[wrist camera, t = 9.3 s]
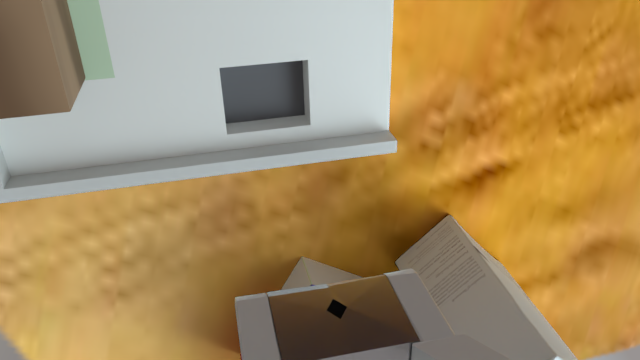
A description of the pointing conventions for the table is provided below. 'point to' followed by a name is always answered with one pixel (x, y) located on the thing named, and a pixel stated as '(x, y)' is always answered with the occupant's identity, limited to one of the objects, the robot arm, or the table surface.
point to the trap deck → (208, 94)
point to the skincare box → (481, 295)
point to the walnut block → (38, 58)
